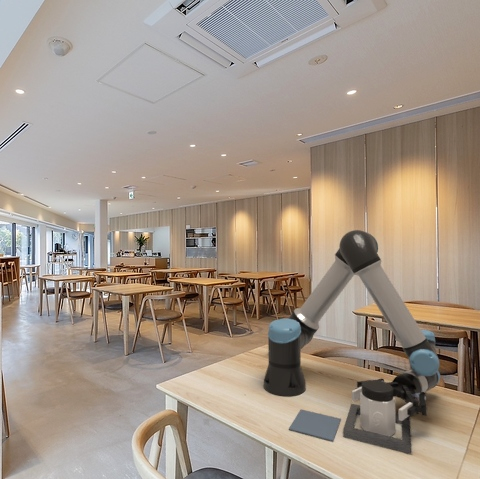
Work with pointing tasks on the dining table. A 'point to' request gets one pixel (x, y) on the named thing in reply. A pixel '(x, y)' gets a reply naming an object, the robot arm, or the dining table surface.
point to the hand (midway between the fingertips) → (374, 405)
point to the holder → (375, 438)
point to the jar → (377, 408)
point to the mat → (315, 425)
